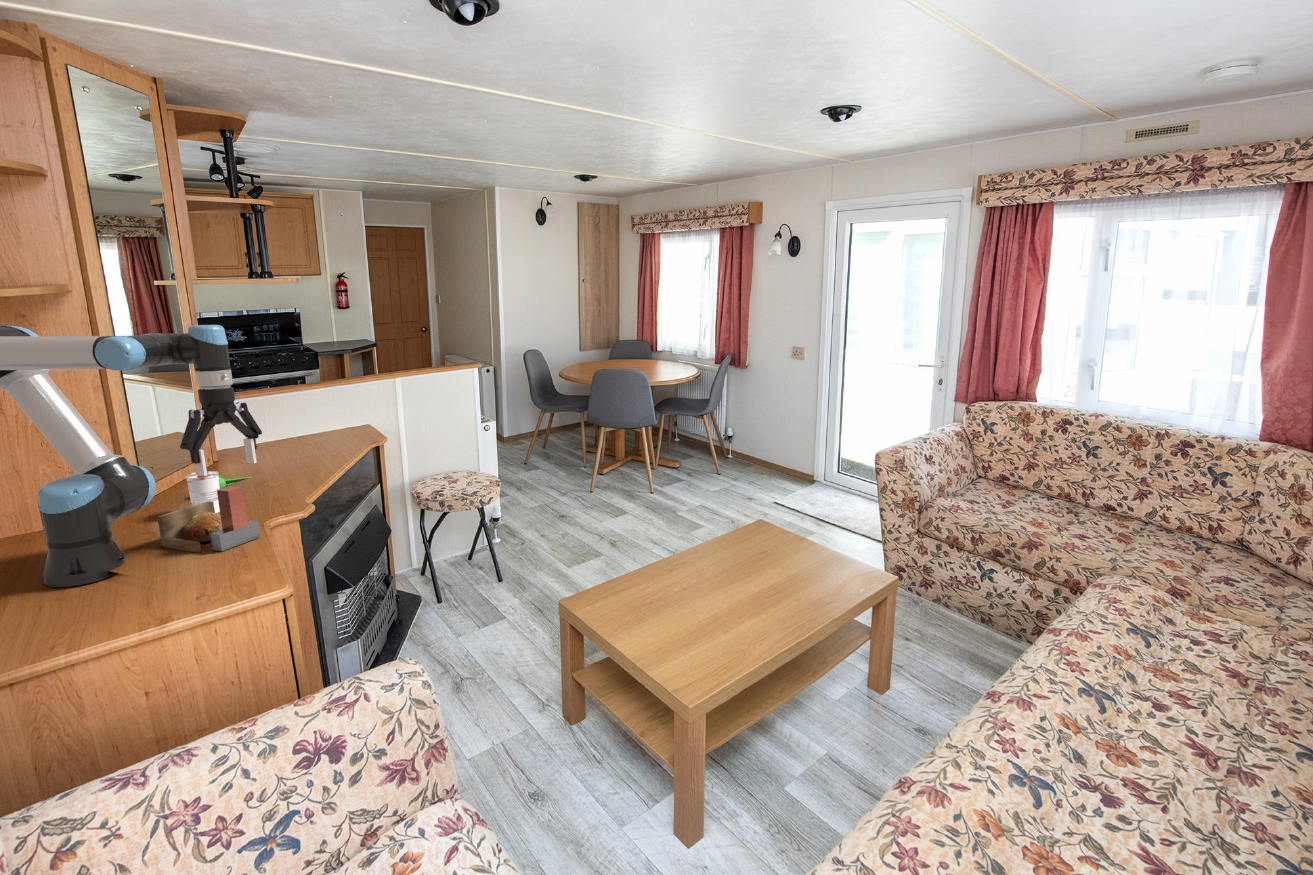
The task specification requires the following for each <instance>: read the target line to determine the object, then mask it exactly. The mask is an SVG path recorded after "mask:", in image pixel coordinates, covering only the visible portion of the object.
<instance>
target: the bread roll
mask: <svg viewBox="0 0 1313 875" xmlns="http://www.w3.org/2000/svg"><path fill="white" fill-rule="evenodd" d="M221 529H222V523H221V516H220V513H210V512H207V513H202V514H199V515H196V516H193V517H192V518H191V519H190V520H189V521H188V522H187V523H186V525H185V527H184V535H185V537H186V540H190V541H197V542H200V543H202V542H208V541H209V542H210V536H209V533H212V532H215V531H218V530H221Z"/></svg>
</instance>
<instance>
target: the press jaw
mask: <svg viewBox="0 0 1313 875" xmlns="http://www.w3.org/2000/svg"><path fill="white" fill-rule="evenodd" d="M217 495H218V502H219V509H220V512H219V514H220V516H221V523H222V529H221V530H218V531H215V532H212V533H209V536H210V540H209V542H210V547H211V551H216V552H217V551H218V552H224V551H227V550H229V549H231V548H235V547H238V546H240V545H242V544H246V543H248V542H251V541H253V540H257V539H259V538H261V532H260V531H261V530H260V525H259V521H256V520H248V517H247V516H248V515H247V510H246V503H245V497H244V495H245V494H244V488H243V487H241V486H233V485H231V486H230V485H229V486H227V487H226V486H225V488H223V489H219V490H217Z"/></svg>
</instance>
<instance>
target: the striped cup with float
mask: <svg viewBox="0 0 1313 875" xmlns="http://www.w3.org/2000/svg"><path fill="white" fill-rule="evenodd" d="M219 474H220V472H219V471H215V470H207V476H198V475H196V472H192V473H190V474H186V475H185V476H184V478H185V479H186V484H187V487H188V493H189V499H190V502H191V506H195V505H198V504H201V503H205V502H208V501H211V502H213V503H214V510H215V513H216V514H219V513H220V509H219V502H218V495H217V490H219V489H220V486H219V476H220V475H219Z"/></svg>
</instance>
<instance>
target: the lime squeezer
mask: <svg viewBox="0 0 1313 875" xmlns="http://www.w3.org/2000/svg"><path fill="white" fill-rule="evenodd" d="M218 476H219V486H220V489H223V488H226V486H227V487H228V486H230V485H232V484H235V483H236V482H238V481H241V480H244V479H245V480H246V479H250V478H252V476H247V477H246V476H243V477H238V478H227V479H225V477H223V476H222V475H218Z"/></svg>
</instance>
